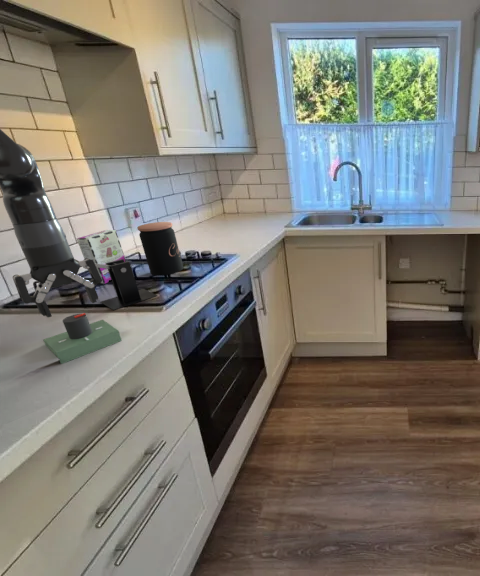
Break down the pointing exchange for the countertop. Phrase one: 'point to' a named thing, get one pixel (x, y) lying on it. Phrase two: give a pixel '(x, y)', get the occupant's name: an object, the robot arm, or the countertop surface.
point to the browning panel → (83, 342)
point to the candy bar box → (102, 250)
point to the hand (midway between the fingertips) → (71, 308)
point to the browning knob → (77, 326)
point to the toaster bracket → (125, 286)
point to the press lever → (101, 265)
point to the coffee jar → (160, 248)
